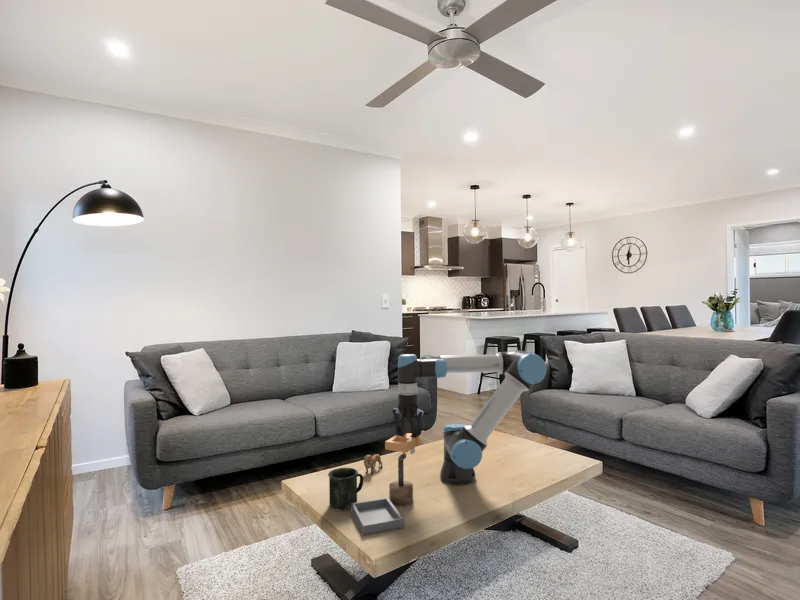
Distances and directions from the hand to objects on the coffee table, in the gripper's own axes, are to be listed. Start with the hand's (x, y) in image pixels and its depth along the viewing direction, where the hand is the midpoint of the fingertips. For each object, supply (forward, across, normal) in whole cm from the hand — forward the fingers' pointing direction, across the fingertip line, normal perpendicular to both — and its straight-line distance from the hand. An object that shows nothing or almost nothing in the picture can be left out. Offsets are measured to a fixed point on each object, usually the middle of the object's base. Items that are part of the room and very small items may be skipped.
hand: (408, 452), depth 175 cm
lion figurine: (+17, -25, +15) cm, 33 cm away
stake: (+16, 0, -7) cm, 18 cm away
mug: (+16, -18, -18) cm, 30 cm away
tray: (+16, -2, -24) cm, 29 cm away
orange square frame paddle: (-4, 0, -5) cm, 6 cm away
